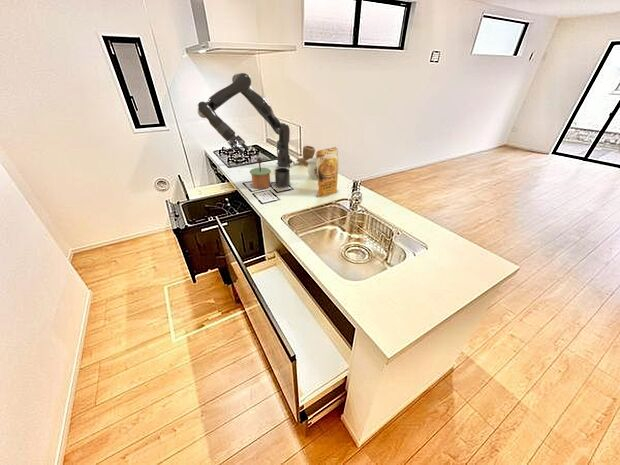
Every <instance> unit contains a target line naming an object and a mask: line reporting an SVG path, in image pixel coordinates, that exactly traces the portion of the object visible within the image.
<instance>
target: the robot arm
mask: <svg viewBox="0 0 620 465" xmlns="http://www.w3.org/2000/svg"><path fill="white" fill-rule="evenodd" d="M231 81H232V82H231V83H230V84H229V85H227V86H225V87H222V88H221V89H219V90H218V91H215V93H213V94H212V95H211V96H209V97H208V98H207V101H199V102H198V103H197V114H198V116H199V118H202V119H207V121H208V122H209V125H210V126H211V127H212V128H213V129H214V130H215V131H216V132H217V133H218V134H219V135H220V137H222V138H223V139H224V140H225V141H226V142H227V144H228V145H229V146H230V147H231V148H232V149H233V150H234V151H238V152H239V153H240V154H241V155H243V154H244V153H245V151H249V147H248V146H247V144H246V141H245V140H244V139H243V138H242V137H241V136H240V135H236V131H235V130H234V129H232V128H231V127H230V125H229V124H227V122H225V121H224V120H223V119H222V118H221V117H220V116H219V115H218V114H217V112H216V110H217V109H219V108H220V107H221V106H223V105H224V104H225V103H227V102H228V101H229V100H231V99H232V98H234V97H235V96H237V95H238V94H241V95H242V96H243V97H244V98H245V99H246V100H247V101H248V102H249V104H251V106H252V107H253V108H254V109H255V110H256V112H257V113H258V114H259V115H260V116H261V117H262V118H263V119H264V120H265V121H266V123H268V125H269V126H270V128H272V130H273V132H274V133H275V134H276V135H278V140H277V141H276V157H277V162H276V165H277V168H287V169H289V168H290V167H291V164H293V165H294V166H298V165H301V164H300V163H299V162H298V163H297V164H296V163H295V161H293V160H292V159H291V155H290V149H289V148H290V144H289V143H290V140H291V137H290V136H291V130H290V126H289V125H288V124H287V123H284V122H282V121H281V120H280V119H279V118H278V117H276V114H275V113H274V110H273V108H272V106H271V105H270V103H269V102H268V101H267V99H266V98H264V97H263V96H262V95H260V94H259V93H258V92H256V91H255V90H254V89H253V88H252V87H251V86H252V78H251V76H250V75H249V74H248V73H245V72H240V73H235V74H233V75H232V78H231ZM244 150H245V151H244Z"/></svg>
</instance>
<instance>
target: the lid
mask: <svg viewBox="0 0 620 465" xmlns="http://www.w3.org/2000/svg"><path fill="white" fill-rule="evenodd" d="M256 163H257V164H258V167H255V168H251V169H250V170H249V174H250V175H251V174H252V175H267V174H269V173H270V174H271V173H272V170H271V169H270V168H268V167H261V166H262V165H261V163H263V159H262V157H257V158H256Z"/></svg>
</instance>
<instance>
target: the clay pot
mask: <svg viewBox="0 0 620 465" xmlns="http://www.w3.org/2000/svg"><path fill="white" fill-rule="evenodd" d="M250 175H251V183H252V187H253V188H255V189H260V190H262V189H268V188H269V187H271V172H270V173H269V174H267V175H252V174H250Z"/></svg>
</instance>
